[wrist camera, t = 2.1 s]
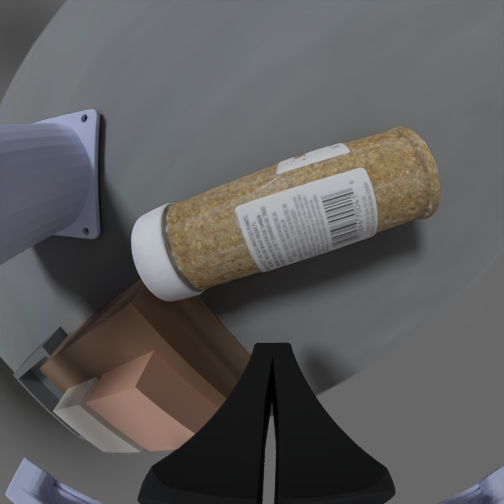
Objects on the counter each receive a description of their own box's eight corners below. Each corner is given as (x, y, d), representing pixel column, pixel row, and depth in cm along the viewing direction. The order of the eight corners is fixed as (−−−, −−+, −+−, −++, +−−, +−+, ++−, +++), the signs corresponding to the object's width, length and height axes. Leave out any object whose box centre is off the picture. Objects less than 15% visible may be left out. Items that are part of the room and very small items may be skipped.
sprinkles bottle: (394, 108, 10) (134, 198, 12) (454, 166, 7) (120, 277, 10) (393, 176, 14) (179, 247, 16) (433, 236, 11) (179, 317, 13)
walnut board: (168, 258, 15) (131, 302, 11) (262, 367, 18) (258, 424, 13) (69, 333, 19) (39, 368, 14) (144, 406, 22) (127, 446, 17)
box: (60, 326, 19) (42, 346, 16) (148, 413, 22) (139, 435, 19) (24, 360, 22) (12, 374, 19) (89, 423, 25) (81, 439, 23)
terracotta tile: (154, 349, 12) (135, 387, 9) (218, 408, 13) (211, 444, 11) (103, 373, 13) (85, 402, 11) (160, 422, 14) (150, 451, 12)
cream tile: (95, 376, 13) (78, 404, 11) (151, 423, 15) (140, 452, 12) (67, 388, 14) (52, 411, 12) (114, 429, 16) (104, 452, 13)
